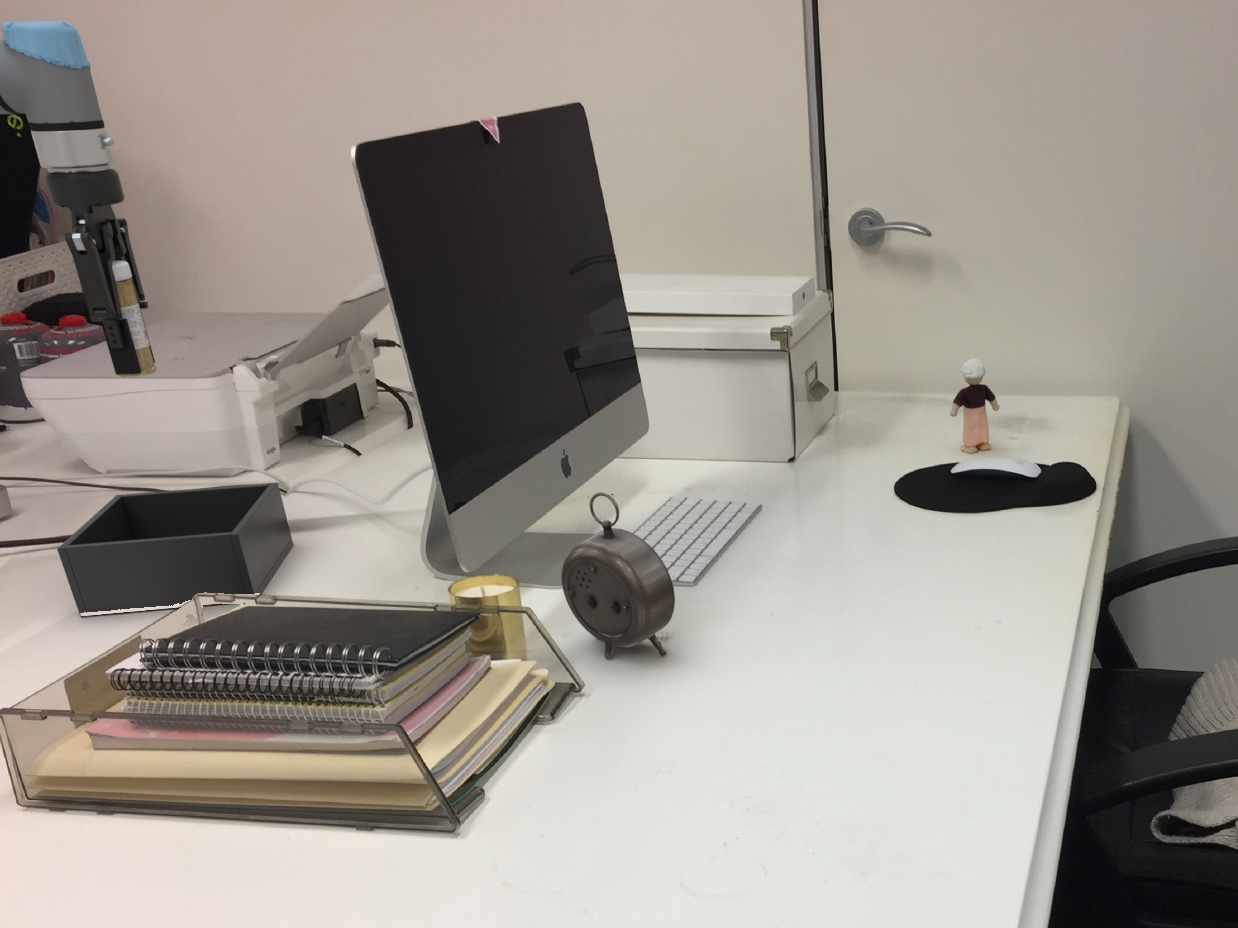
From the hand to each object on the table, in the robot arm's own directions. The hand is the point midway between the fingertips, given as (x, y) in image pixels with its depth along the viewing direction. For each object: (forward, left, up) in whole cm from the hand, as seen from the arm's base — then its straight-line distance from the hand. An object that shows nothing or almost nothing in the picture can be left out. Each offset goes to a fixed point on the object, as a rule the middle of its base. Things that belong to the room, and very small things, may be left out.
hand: (135, 367), depth 163 cm
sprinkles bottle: (0, 0, -1) cm, 1 cm away
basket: (+10, -29, -18) cm, 36 cm away
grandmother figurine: (+106, -4, -18) cm, 108 cm away
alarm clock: (+58, -60, -18) cm, 86 cm away
